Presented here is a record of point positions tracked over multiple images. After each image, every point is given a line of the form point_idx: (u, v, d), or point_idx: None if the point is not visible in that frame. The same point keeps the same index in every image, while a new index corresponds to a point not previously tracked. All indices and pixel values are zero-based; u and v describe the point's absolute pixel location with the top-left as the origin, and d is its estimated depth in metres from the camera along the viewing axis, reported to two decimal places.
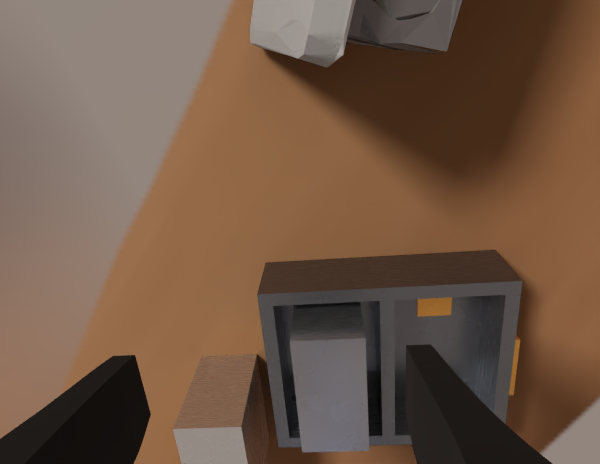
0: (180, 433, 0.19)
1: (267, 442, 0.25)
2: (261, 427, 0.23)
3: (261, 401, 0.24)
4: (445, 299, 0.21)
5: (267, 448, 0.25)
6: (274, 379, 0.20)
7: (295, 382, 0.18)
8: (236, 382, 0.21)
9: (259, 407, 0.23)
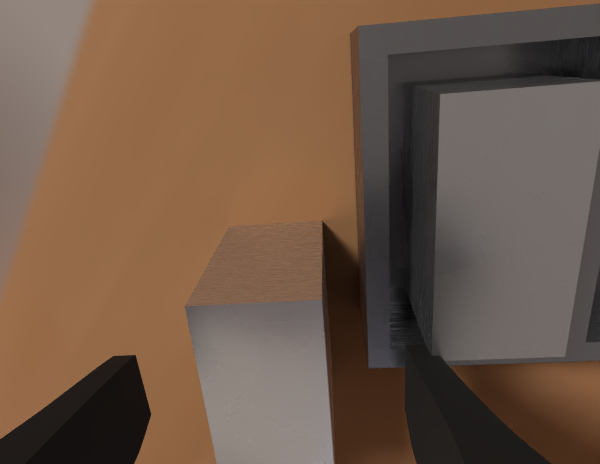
0: (199, 316, 0.10)
1: (332, 377, 0.16)
2: (329, 344, 0.14)
3: (327, 304, 0.14)
4: None
5: None
6: (374, 227, 0.11)
7: (439, 200, 0.09)
8: (297, 249, 0.12)
9: None
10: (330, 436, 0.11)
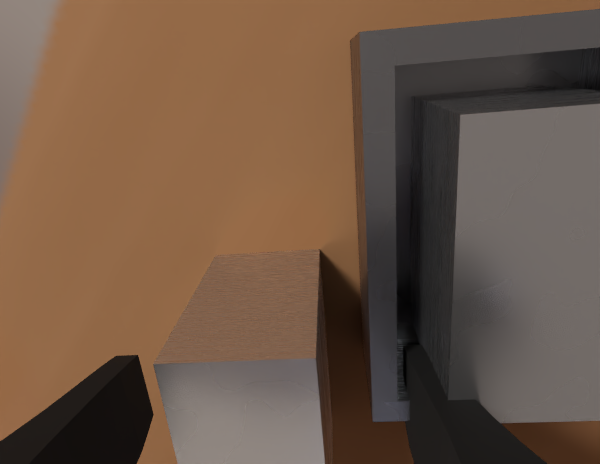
0: (170, 375, 0.08)
1: (331, 421, 0.14)
2: (328, 388, 0.12)
3: (325, 342, 0.13)
4: None
5: None
6: (379, 265, 0.09)
7: (457, 241, 0.07)
8: (289, 286, 0.10)
9: (325, 349, 0.12)
10: None
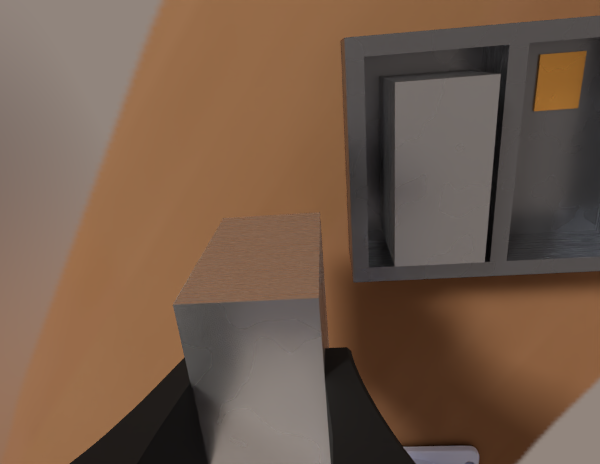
0: (188, 314, 0.09)
1: None
2: None
3: (325, 300, 0.14)
4: (573, 84, 0.16)
5: None
6: (356, 176, 0.15)
7: (396, 152, 0.14)
8: (293, 243, 0.11)
9: None
10: (327, 440, 0.10)
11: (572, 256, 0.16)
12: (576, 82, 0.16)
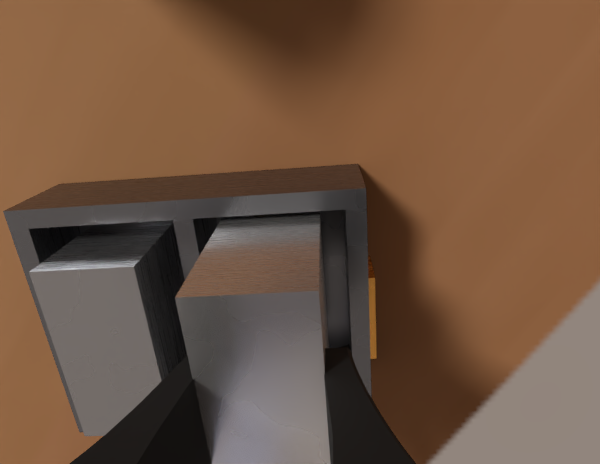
0: (190, 308, 0.09)
1: None
2: None
3: None
4: None
5: None
6: None
7: (52, 334, 0.13)
8: (293, 238, 0.12)
9: None
10: (327, 432, 0.10)
11: None
12: None
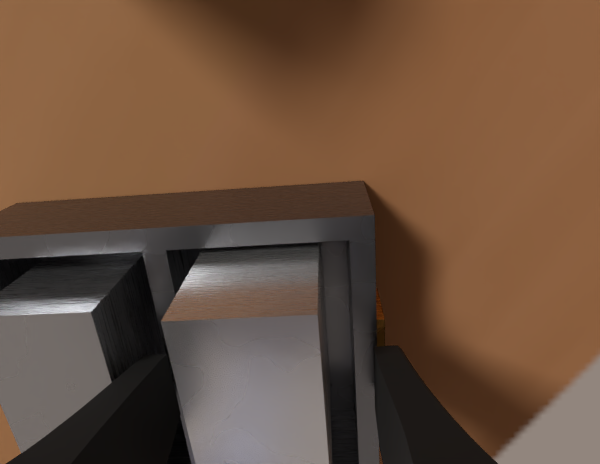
0: (177, 332, 0.08)
1: None
2: (327, 352, 0.13)
3: (324, 308, 0.13)
4: None
5: (330, 395, 0.14)
6: None
7: None
8: (291, 252, 0.11)
9: (324, 314, 0.13)
10: (327, 461, 0.10)
11: None
12: None
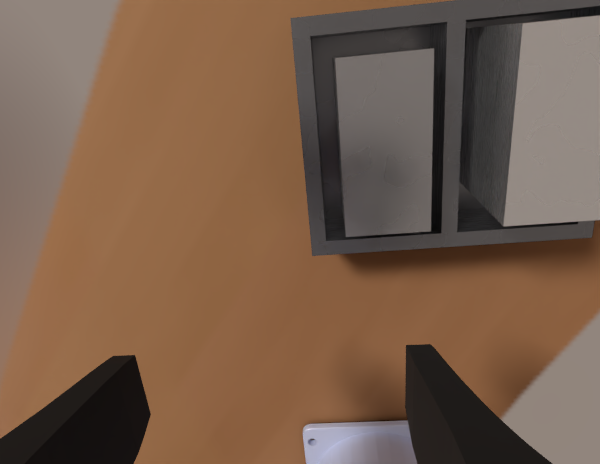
0: (532, 32, 0.12)
1: None
2: None
3: None
4: None
5: None
6: (309, 152, 0.16)
7: (340, 125, 0.14)
8: None
9: None
10: None
11: (520, 226, 0.17)
12: None
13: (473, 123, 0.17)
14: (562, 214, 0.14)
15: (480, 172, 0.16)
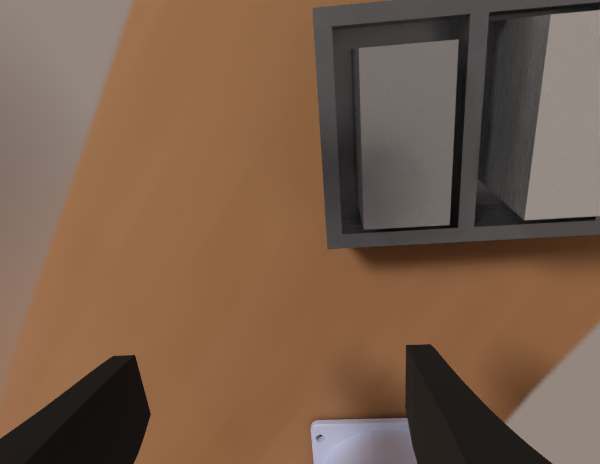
0: (560, 24, 0.12)
1: None
2: None
3: None
4: None
5: None
6: (327, 144, 0.16)
7: (362, 116, 0.14)
8: None
9: None
10: None
11: (537, 222, 0.17)
12: None
13: (492, 117, 0.16)
14: (584, 208, 0.14)
15: (499, 167, 0.16)
